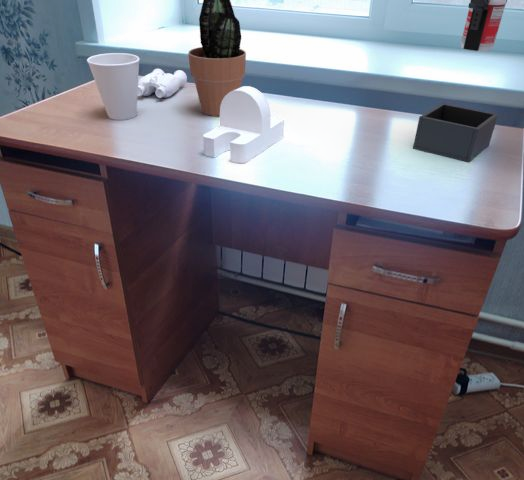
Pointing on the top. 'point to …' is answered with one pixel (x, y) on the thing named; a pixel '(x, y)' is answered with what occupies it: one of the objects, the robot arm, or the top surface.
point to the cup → (117, 83)
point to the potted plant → (217, 55)
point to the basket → (454, 131)
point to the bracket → (243, 126)
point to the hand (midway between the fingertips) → (476, 46)
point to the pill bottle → (487, 25)
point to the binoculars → (161, 83)
